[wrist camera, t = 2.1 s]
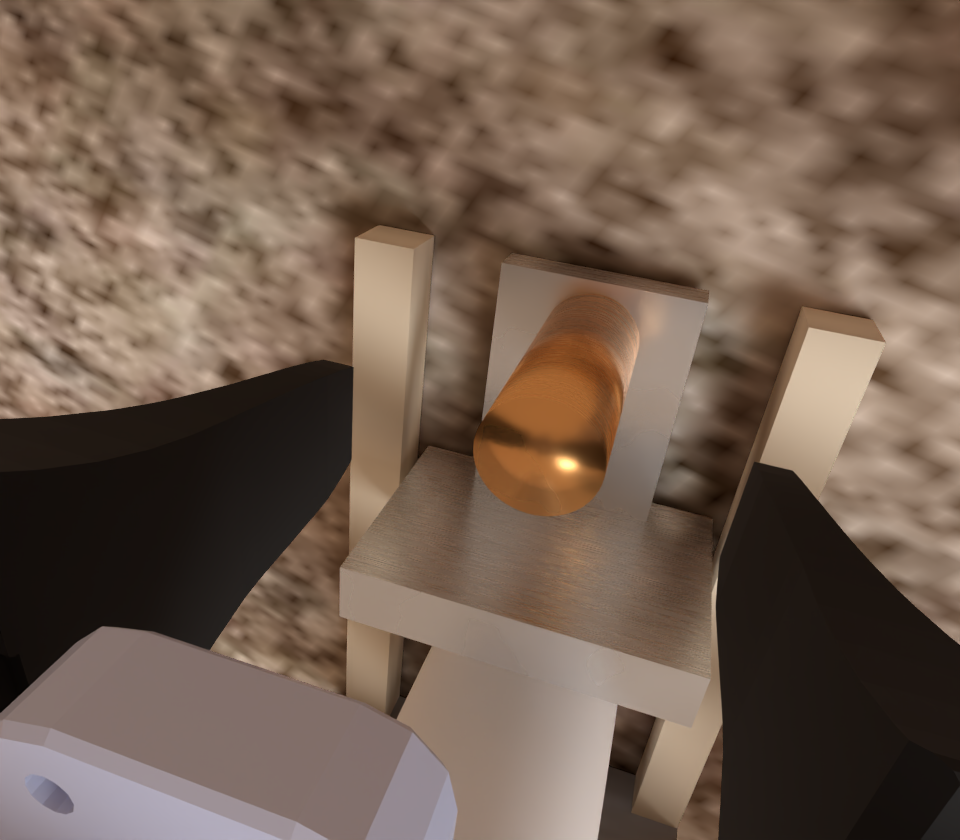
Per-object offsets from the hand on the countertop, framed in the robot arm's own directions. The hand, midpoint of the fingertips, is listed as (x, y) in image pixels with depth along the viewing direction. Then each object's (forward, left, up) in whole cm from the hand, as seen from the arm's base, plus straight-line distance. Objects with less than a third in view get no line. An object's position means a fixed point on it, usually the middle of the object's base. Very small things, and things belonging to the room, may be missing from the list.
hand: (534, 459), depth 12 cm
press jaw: (+2, 0, -7) cm, 7 cm away
